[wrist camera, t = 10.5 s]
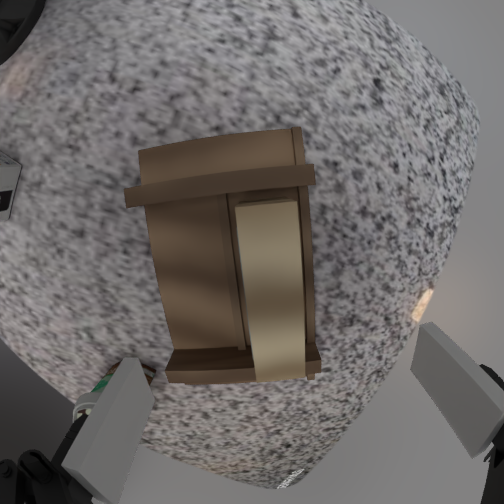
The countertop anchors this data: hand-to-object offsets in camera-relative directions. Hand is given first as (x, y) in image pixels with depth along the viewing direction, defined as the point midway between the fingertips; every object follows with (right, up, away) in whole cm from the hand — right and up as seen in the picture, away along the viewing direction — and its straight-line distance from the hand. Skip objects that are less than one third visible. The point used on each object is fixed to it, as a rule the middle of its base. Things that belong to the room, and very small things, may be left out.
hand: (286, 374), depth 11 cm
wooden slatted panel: (-3, +3, +16) cm, 17 cm away
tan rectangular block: (0, +3, +15) cm, 15 cm away
